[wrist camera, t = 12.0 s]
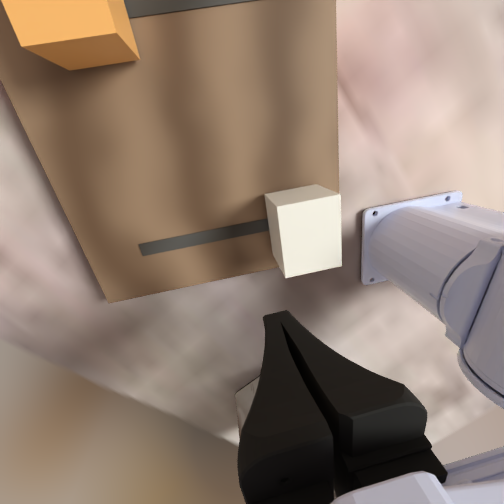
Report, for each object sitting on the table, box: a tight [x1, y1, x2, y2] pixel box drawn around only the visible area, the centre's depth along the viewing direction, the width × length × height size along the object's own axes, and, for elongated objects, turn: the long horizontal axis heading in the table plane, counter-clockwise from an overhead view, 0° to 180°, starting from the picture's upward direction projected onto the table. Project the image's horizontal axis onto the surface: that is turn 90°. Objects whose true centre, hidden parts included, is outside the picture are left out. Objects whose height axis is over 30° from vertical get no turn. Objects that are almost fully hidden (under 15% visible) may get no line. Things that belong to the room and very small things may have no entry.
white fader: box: [264, 184, 342, 278], centre depth 18 cm, size 4×5×4 cm
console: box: [0, 0, 339, 303], centre depth 18 cm, size 20×23×2 cm
